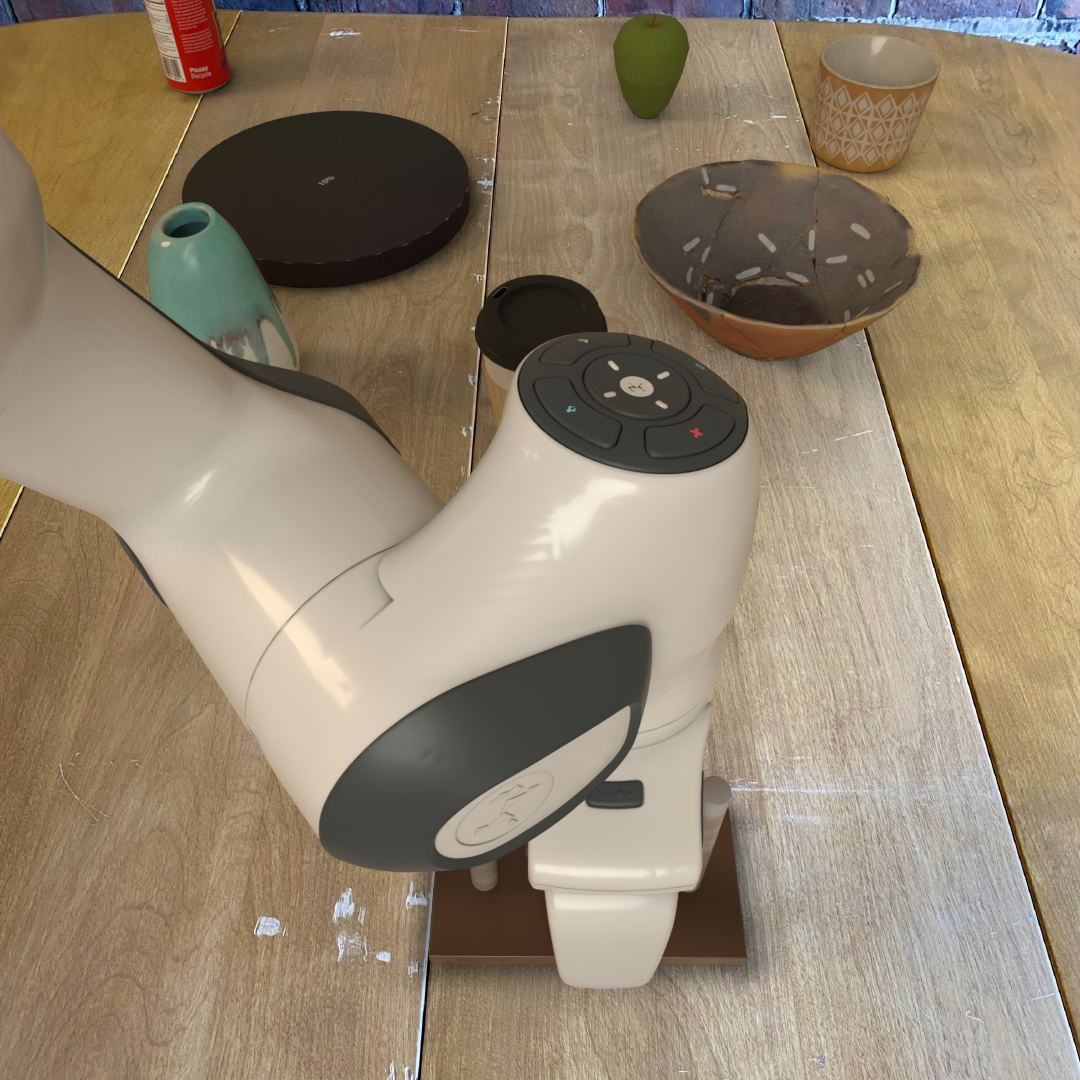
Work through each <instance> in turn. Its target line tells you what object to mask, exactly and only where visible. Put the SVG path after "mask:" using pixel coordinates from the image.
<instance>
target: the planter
mask: <svg viewBox="0 0 1080 1080" xmlns="http://www.w3.org/2000/svg"><path fill="white" fill-rule="evenodd" d="M941 70H942V66H941V62H940V60H939V58H938V57H937V56H936V54H935V53H933V52H932V51H931V50H930V49H928V48H927V47H925V46H924V45H922V44H919V43H918V42H915V41H912V40H910V39H906V38H904V37H901V36H900V37H898V36H894V35H890V34H884V33H854V34H848V35H844V36H840V37H837V38H835V39H833V40H830V41H829V42H827V43H826V44H825V45H824V46H823V47H822V48H821V50H820V53H819V60H818V69H817V77H816V84H815V91H814V98H813V99H814V100H813V108H812V116H811V122H810V123H811V124H810V131H809V144H810V147H811V149H812V151H813V153H814V155H816V157H818V159H820V160H821V161H823V162H824V163H826V164H828V165H829V166H832V167H833V168H836V169H839V170H843V171H847V172H851V173H852V172H853V173H861V174H862V173H863V174H865V173H866V174H867V173H878V172H879V173H880V172H882V171H887V170H889V169H891V168H894V167H896V165H899V164H900V162H902V161H903V159H904V158H905V157H906V156H907V154H908V151H909V149H910V146H911V143H912V141H913V139H914V136H915V134H916V131H917V129H918V128H919V127H918V126H919V124H920V122H921V119H922V117H923V115H924V112H925V110H926V107H927V105H928V103H929V101H930V97H931V95H932V94H933V90H934V87H935V85H936V84H937V81H938V78H939V76H940V74H941Z"/></svg>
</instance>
